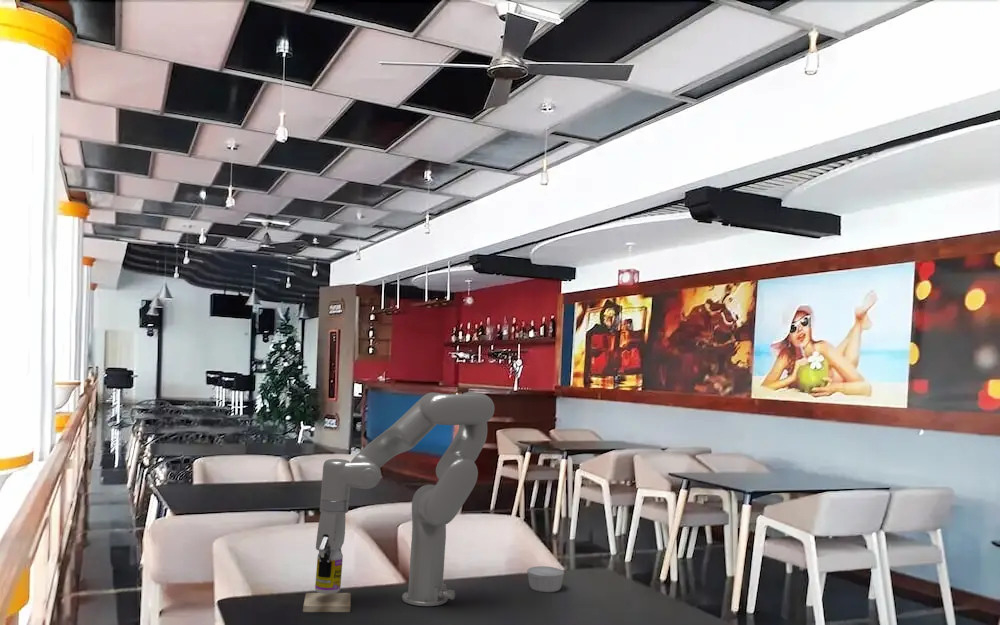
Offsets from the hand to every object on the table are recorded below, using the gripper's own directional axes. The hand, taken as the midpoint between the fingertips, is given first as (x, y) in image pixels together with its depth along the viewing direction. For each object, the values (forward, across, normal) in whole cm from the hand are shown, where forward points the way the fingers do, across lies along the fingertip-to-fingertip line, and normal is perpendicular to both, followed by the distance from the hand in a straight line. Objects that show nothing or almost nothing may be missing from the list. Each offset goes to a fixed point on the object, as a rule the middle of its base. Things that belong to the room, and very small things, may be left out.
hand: (329, 573), depth 213 cm
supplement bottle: (+5, 0, 0) cm, 5 cm away
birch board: (+8, 0, 0) cm, 8 cm away
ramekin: (+8, -37, +56) cm, 67 cm away
